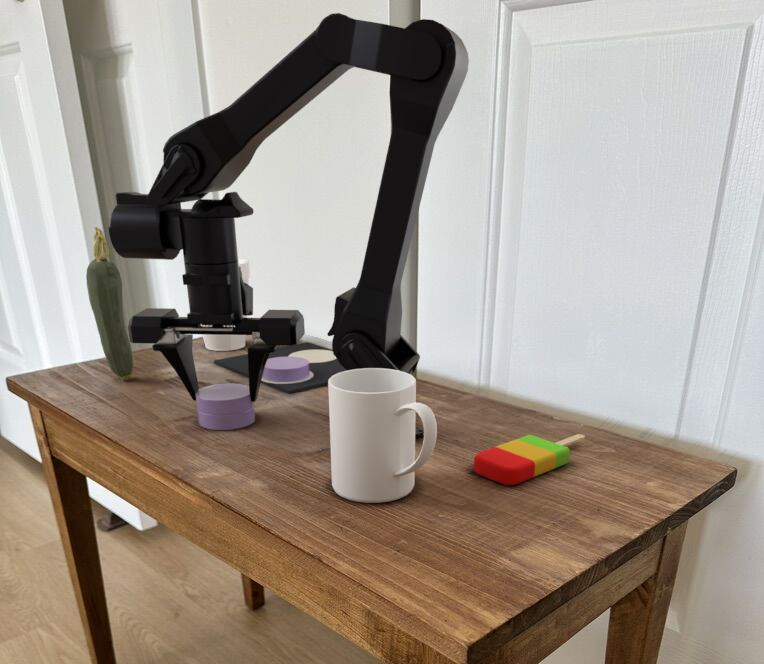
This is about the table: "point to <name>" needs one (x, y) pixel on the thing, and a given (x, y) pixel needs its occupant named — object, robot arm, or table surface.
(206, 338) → the foam cup
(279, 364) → the purple round puck
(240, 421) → the purple flat disc
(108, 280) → the vegetable
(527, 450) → the popsicle
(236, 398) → the purple puck
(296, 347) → the place mat
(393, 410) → the mug
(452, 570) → the table surface
